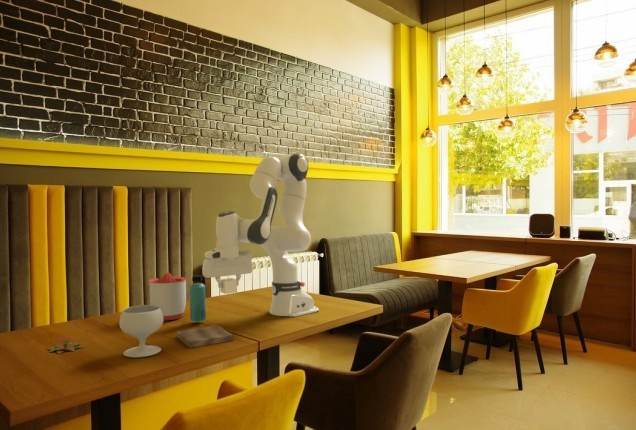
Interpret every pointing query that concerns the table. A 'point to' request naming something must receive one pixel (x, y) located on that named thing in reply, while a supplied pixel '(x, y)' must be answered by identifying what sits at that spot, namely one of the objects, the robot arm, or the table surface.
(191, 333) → the walnut base
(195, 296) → the beverage bottle
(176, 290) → the citrus juicer
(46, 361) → the table surface
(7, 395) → the table surface
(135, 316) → the chalice
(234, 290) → the off-white cube
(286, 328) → the table surface
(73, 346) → the lily flower
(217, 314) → the table surface
